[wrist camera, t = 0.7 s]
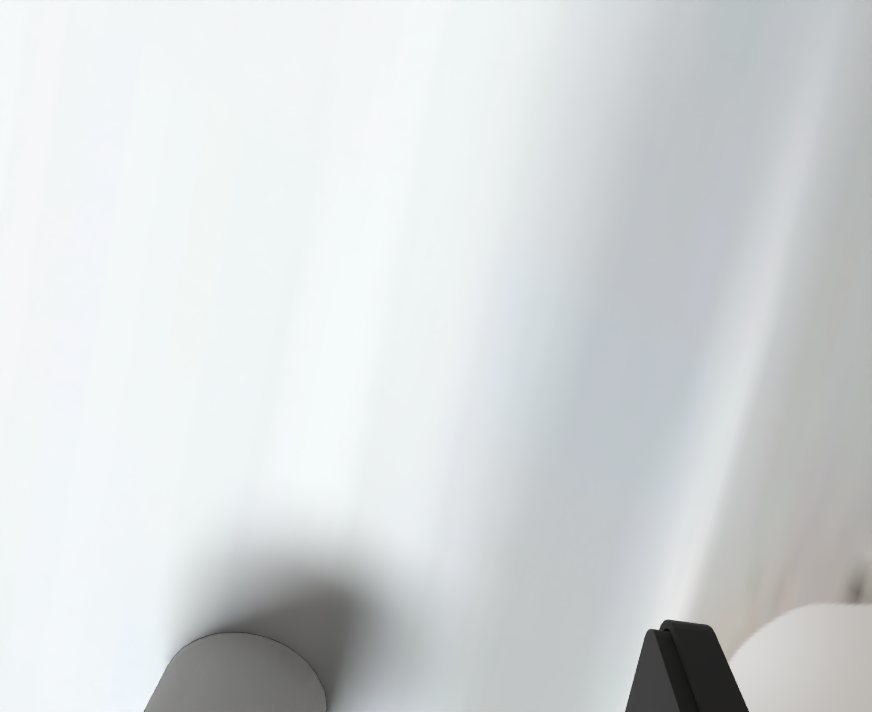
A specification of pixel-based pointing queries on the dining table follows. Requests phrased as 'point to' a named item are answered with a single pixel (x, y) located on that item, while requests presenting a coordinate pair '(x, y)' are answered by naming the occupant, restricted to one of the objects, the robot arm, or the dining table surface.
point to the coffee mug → (237, 678)
